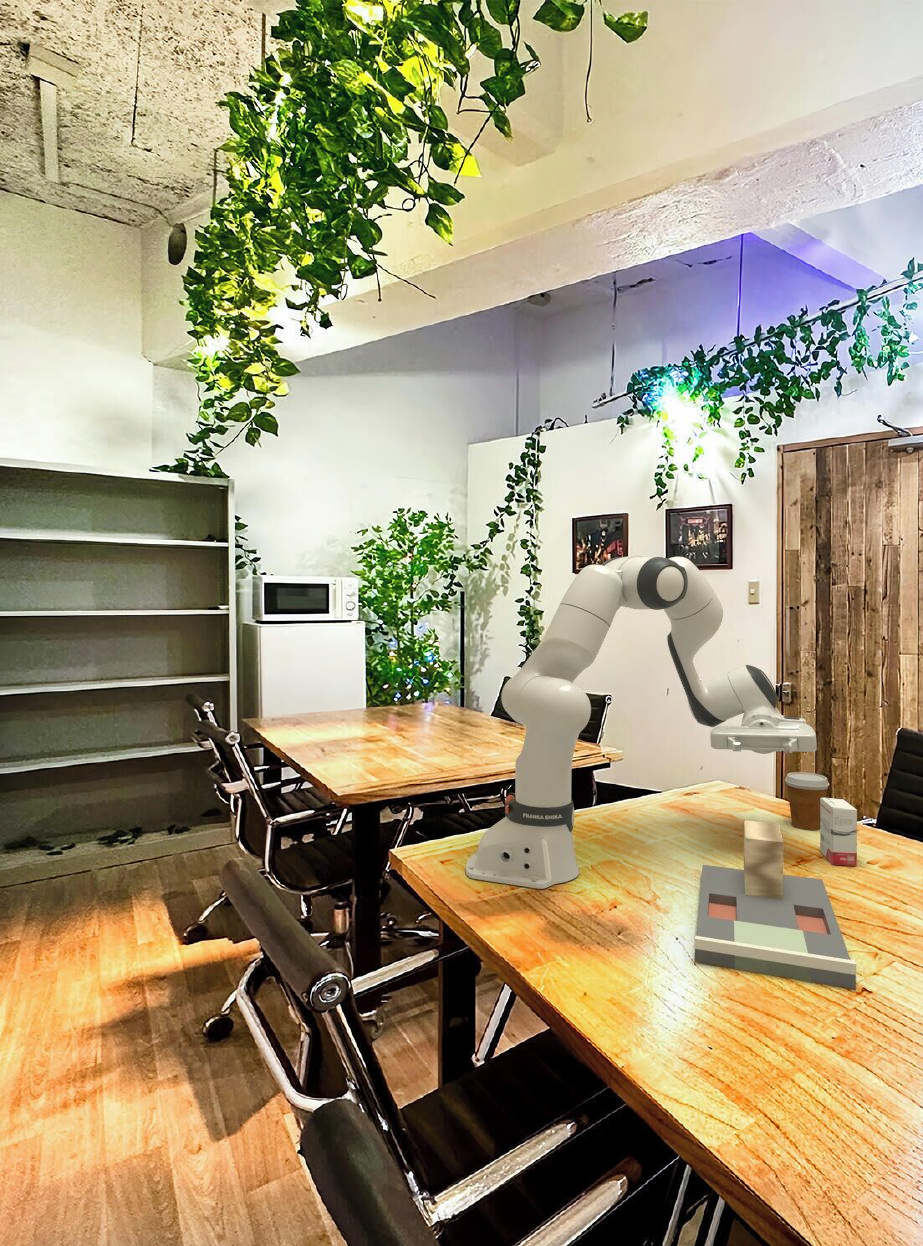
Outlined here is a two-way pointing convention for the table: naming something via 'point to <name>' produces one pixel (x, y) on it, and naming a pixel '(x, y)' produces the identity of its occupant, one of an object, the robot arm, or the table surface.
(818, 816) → the disposable coffee cup
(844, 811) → the ink box
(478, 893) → the table surface
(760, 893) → the maple block
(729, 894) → the trap runway
